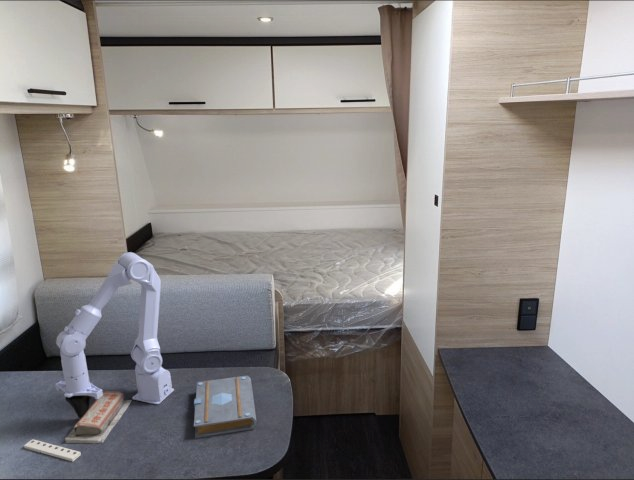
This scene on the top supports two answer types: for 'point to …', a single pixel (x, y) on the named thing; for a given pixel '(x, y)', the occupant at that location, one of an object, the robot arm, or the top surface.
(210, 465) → the top surface
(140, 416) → the top surface
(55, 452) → the perforated board
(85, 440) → the packaged product
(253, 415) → the book
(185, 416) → the top surface
